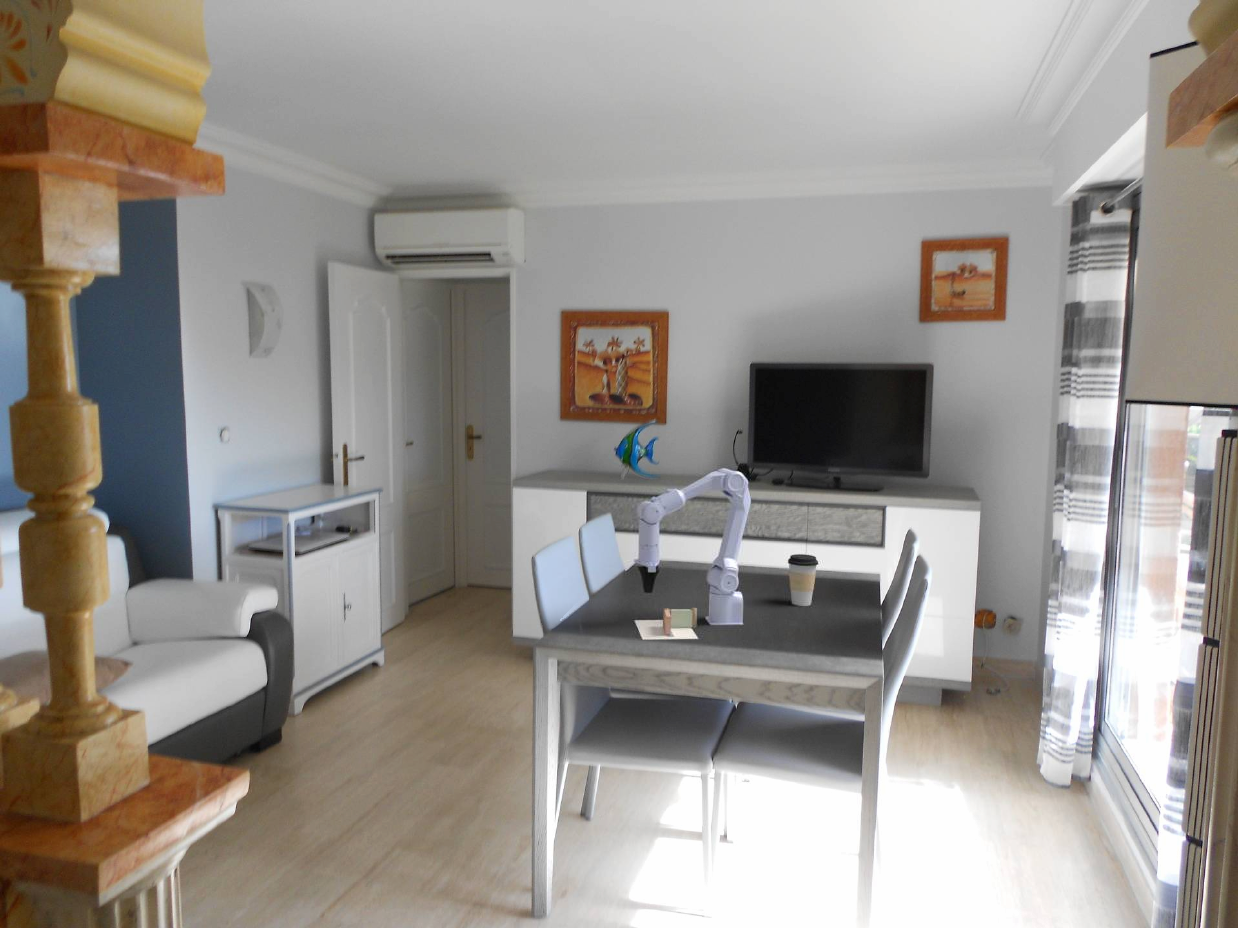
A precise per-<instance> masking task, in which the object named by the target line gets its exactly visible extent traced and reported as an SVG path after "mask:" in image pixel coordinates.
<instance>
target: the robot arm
mask: <svg viewBox="0 0 1238 928" xmlns="http://www.w3.org/2000/svg"><path fill="white" fill-rule="evenodd" d="M709 491H720V492H722V493H723V494H724V495H725V496H726V498H727V500H728V501H729V503H730V507H729V511H728V515H727V519H726V522H725V528H724V531H723V534H722V538H721V543H720V548H719V551H718V555H717V557H716V558H715V559H714V560H713V561H712V564H711V567H710V568H709V570H708V571H707V573H706V581H707V583H708V584H709V586H710V587H709V598H708V616H705V617H704V618H705V620H706V621H707V622H708V624H709V625H710V626H740V625H741V626H742V625H744V623H743V619H744V618H743V617H744V598H743V594H742V592H741V591H736V590H737V589H738V586H739V583H740V582H739V581H740V580H739V576H738V575H739V565H738V563H737V559H738V556H739V552H740V551H739V550H740V548H741V544H742V539H743V536H744V532H745V528H746V523H747V519H748V515H749V513H750V512H749V511H750V509H751V503H752V499H751V494H750V490H749V481H748V478H747V477H746V476H745V475H744V474H743V473H742V472H740V471H736V470H732V469H729V468H724V467H722V468H720V469H717V471H712V472H710V473H708V474H707V475H704V476H703V477H702V478H700V479H698V480H696V481H694V482H692V483H691V484H689V485H687V486H685V487H683V488H682V489H680V490H679V489H677V488H673V489H671V488H667V489H666V490H665V492H664V493H662V494H660V495H658V496H652V497H651V499H650V500H645V501H642V502H640V503H639V505H638V506H637V509H636V511H635V513H636V516H637V518H638V523H639V524H638V558H636V559H634V560H633V561H634V562H633V563H635V564H639V565H640V566H637V569H638V571H639V574H640V576H641V578H640V579H641V582H642V588H643V592H644V593H645V594H652V593H653V590H654V587H655V586H654V585H655V582H656V578H657V576H658V574H659V573H660V569H659V566H658V565H659V564H660V562H661V561H660V521H662V519H663V517H665V516H667V515H669V514H672V513H673V512H676V511H677V510H679V509H681V508H684V507H685V503H686V501H688V500H691V499H693V498H695V497H697V496H700V495H701V494H703V493H704V494H705V493H706V492H709ZM641 565H642V566H641Z"/></svg>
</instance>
